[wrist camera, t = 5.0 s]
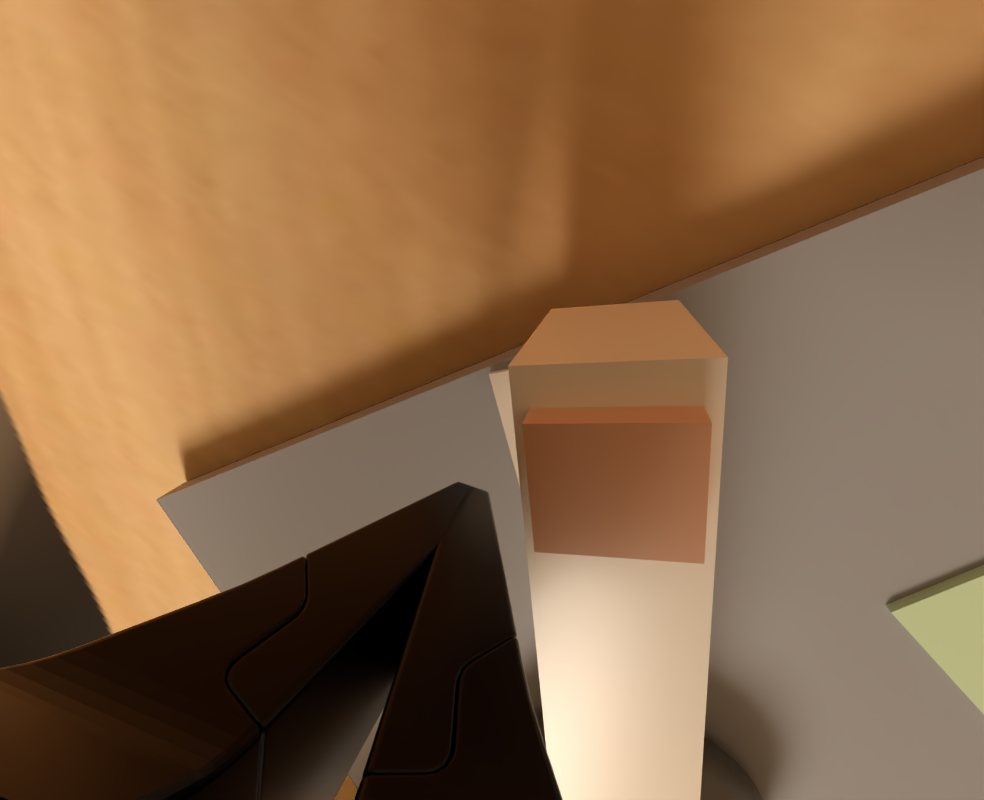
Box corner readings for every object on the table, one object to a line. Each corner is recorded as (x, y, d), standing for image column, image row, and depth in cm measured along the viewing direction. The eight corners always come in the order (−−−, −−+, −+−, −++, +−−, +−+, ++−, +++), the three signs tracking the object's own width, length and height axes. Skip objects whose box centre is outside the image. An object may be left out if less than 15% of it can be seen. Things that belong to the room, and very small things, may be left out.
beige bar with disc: (755, 906, 13) (815, 1199, 9) (511, 847, 15) (474, 1068, 11) (840, 288, 7) (1093, 359, 3) (430, 317, 9) (295, 385, 5)
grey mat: (491, 936, 20) (484, 978, 18) (185, 482, 14) (150, 503, 13) (1306, 1022, 11) (1379, 1107, 10) (1271, 39, 6) (1412, -1, 5)
